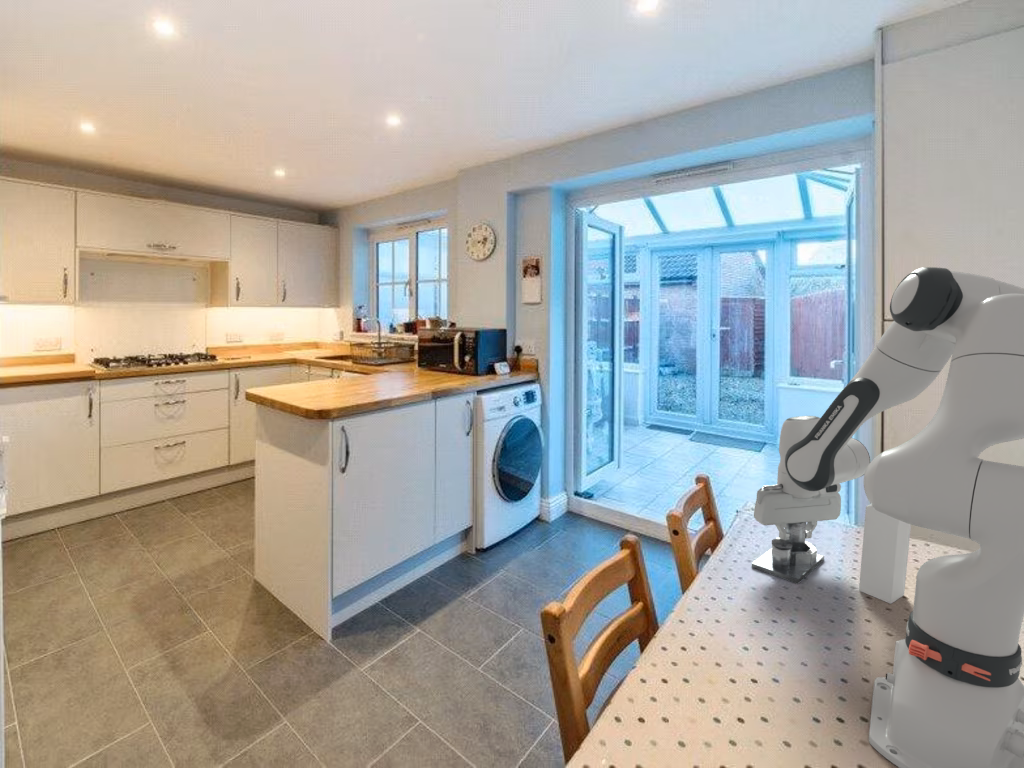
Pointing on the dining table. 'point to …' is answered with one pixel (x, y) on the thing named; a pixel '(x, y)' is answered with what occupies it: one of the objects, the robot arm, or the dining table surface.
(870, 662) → the dining table surface
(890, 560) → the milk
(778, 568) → the flange
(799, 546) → the grey cylindrical peg
